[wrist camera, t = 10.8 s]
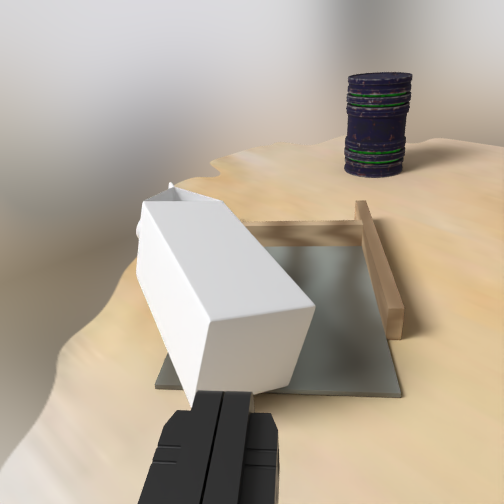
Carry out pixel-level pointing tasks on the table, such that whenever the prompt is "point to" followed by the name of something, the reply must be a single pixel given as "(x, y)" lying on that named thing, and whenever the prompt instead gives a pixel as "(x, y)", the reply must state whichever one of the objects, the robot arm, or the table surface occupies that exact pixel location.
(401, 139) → the dark blue barrel
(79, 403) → the table surface
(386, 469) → the table surface
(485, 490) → the table surface
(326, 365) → the tray
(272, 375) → the milk carton
